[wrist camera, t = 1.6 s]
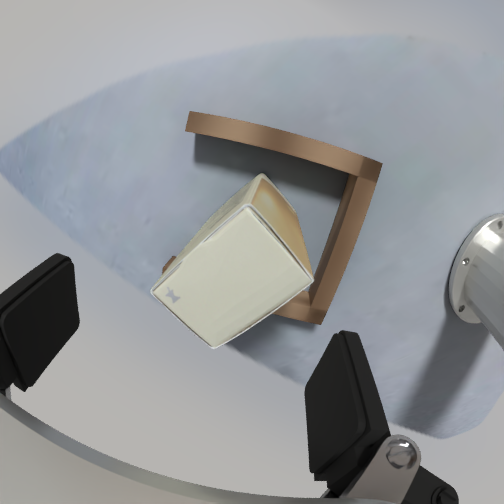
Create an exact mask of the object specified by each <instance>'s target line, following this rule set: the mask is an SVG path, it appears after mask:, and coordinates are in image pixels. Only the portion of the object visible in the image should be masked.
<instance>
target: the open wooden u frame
mask: <svg viewBox="0 0 504 504" xmlns="http://www.w3.org/2000/svg"><path fill="white" fill-rule="evenodd" d="M185 131H187V132H193V133H198V134H203V135H209V136H214V137H219V138H223V139H228V140H233V141H237V142H241V143H246V144H250V145H254V146H258V147H262V148H266V149H270V150H274V151H278V152H282V153H285V154H289V155H292V156H296V157H299V158H303V159H306V160H310V161H313V162H316V163H320V164H323V165H326V166H329V167H332V168H335V169H338V170H341V171H344V172H347V173H349V176H348V180H347V183H346V186H345V189H344V192H343V196H342V199H341V202H340V205H339V208H338V211H337V214H336V217H335V220H334V223H333V226H332V229H331V231H330V234H329V237H328V240H327V243H326V246H325V248H324V251H323V254H322V257H321V260H320V262H319V265H318V268H317V270H316V273H315V276H314V282H313V283H312V284H311V286H310V289H309V291H308V292H307V291H301V292H300V293H299V294H298V295H296V296H295V297H294V298H292V299H291V300H290V301H288V302H287V303H286V304H284V305H283V306H282V307H280V308H279V309H277V310H276V311H275V312H273V313H272V314H276V315H280V316H284V317H288V318H292V319H297V320H301V321H305V322H310V323H314V324H319V325H321V324H322V322H323V319H324V317H325V315H326V313H327V311H328V308H329V306H330V304H331V302H332V299H333V297H334V295H335V293H336V290H337V288H338V286H339V283H340V281H341V278H342V276H343V274H344V271H345V269H346V266H347V264H348V261H349V259H350V256H351V254H352V251H353V249H354V246H355V243H356V241H357V238H358V235H359V233H360V230H361V227H362V224H363V222H364V219H365V216H366V213H367V210H368V207H369V205H370V202H371V199H372V196H373V193H374V190H375V186H376V183H377V180H378V177H379V174H380V171H381V167H382V164H383V163H380V162H378V161H375V160H372V159H370V158H367V157H364V156H362V155H359V154H356V153H353V152H351V151H348V150H345V149H342V148H339V147H336V146H333V145H330V144H327V143H324V142H320V141H317V140H314V139H311V138H307V137H304V136H300V135H297V134H293V133H290V132H286V131H282V130H279V129H275V128H271V127H267V126H263V125H258V124H254V123H250V122H245V121H241V120H236V119H231V118H226V117H221V116H216V115H210V114H204V113H199V112H192V111H190V112H189V116H188V121H187V125H186V129H185ZM175 258H176V257H175V256H172V258H171V259H170V260H169V261H168V262H167V264H166V265H165V266H164V267H163V272H162V275H163V273H164V272H165V271H166V270H167V268H168V267H169V266H170V265H171V263H172V262H173V261H174V260H175Z"/></svg>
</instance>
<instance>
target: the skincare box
mask: <svg viewBox="0 0 504 504" xmlns="http://www.w3.org/2000/svg"><path fill="white" fill-rule="evenodd" d="M313 282H314V278H313V273H312V270H311V266H310V262H309V258H308V254H307V250H306V247H305V243H304V239H303V235H302V231H301V228H300V225H299V221H298V217H297V214H296V211H295V210H294V208H293V207H292V206H291V205H290V203H289V202H288V201H287V200H286V198H285V197H284V196H283V195H282V193H281V192H280V191H279V190H278V189H277V187H276V186H275V185H274V184H273V183H272V182H271V181H270V180H269V178H268V177H267V176H266V175H265V174H263V173H260V174H259V175H257V176H256V177H255V178H254V179H252V180H251V181H250V182H249V183H248V184H246V185H245V186H244V187H243V188H242V189H241V190H239V191H238V192H237V193H236V194H235V195H234V196H233V197H231V198H230V199H229V200H228V201H227V202H226V203H225V204H224V205H223V206H222V207H221V208H220V209H219V210H217V211H216V212H215V213H214V214H213V215H212V216H211V217H210V218H209V219H208V220H207V222H206V223H205V224H204V225H203V226H202V228H201V229H200V230H199V231H198V232H197V234H196V235H195V236H194V237H193V238H192V239H191V241H190V242H189V243H188V244H187V245H186V247H185V248H184V249H183V250H182V251H181V253H180V254H179V255H178V256H177V257H176V258H175V260H174V261H173V262H172V263H171V265H170V266H169V267H168V268H167V270H166V271H165V272H164V273H163V275H162V276H161V277H160V278H159V280H158V281H157V282H156V284H155V285H154V286H153V287H152V288H151V290H150V292H151V294H152V295H153V296H154V297H155V298H156V299H157V300H158V301H159V302H161V304H162V305H163V306H164V307H165V308H166V309H167V310H168V311H169V312H170V313H171V314H172V315H174V316H175V317H176V318H177V319H178V320H179V321H180V322H181V323H182V324H183V325H184V326H185V327H187V328H188V329H189V330H190V331H191V332H192V333H193V334H194V335H196V336H197V337H198V338H199V339H200V340H202V341H203V342H204V343H206V344H207V345H208V346H209V347H210V348H212V349H216V348H218V347H220V346H222V345H224V344H225V343H227V342H229V341H231V340H232V339H234V338H236V337H237V336H239V335H240V334H242V333H244V332H245V331H247V330H248V329H250V328H251V327H253V326H254V325H256V324H257V323H259V322H260V321H262V320H263V319H265V318H266V317H267V316H269V315H270V314H272V313H273V312H275V311H276V310H277V309H279V308H280V307H282V306H283V305H284V304H286V303H287V302H288V301H290V300H291V299H292V298H294V297H295V296H296V295H298V294H299V293H300V292H301V291H303V290H304V289H305V288H307V287H308V286H309V285H311V284H312V283H313Z"/></svg>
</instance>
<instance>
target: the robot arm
mask: <svg viewBox="0 0 504 504" xmlns="http://www.w3.org/2000/svg"><path fill="white" fill-rule="evenodd" d="M449 299H450V303H451V306H452V308H453V310H454V311H455V313H456V314H457V315H458V316H459V317H460V319H461V320H463V321H465V322H467V323H472V324H476V323H483V324H484V326H485V327H486V328H487V329H488V331H489V332H490V333H491V334H492V336H493V337H494V338H495V340H496V341H497V342H498V343H499V345H500V346H501V347H502V349H503V350H504V214H496V215H493V216H490V217H488V218H487V219H485V220H483V221H482V222H481V223H480V224H479V225H477V226H476V227H475V228H474V229H473V231H472V232H471V233H470V234H469V236H468V237H467V238H466V240H465V241H464V243H463V245H462V246H461V248H460V250H459V252H458V254H457V256H456V258H455V261H454V264H453V267H452V270H451V275H450V280H449ZM79 323H80V320H79V312H78V304H77V295H76V285H75V272H74V264H73V263H72V261H71V259H70V258H69V257H67V256H64V255H62V254H59V253H56V254H54V255H52V256H51V257H50V258H48V259H47V260H45V261H44V262H43V263H41V264H40V265H38V266H37V267H35V268H34V269H33V270H31V271H30V272H29V273H27V274H26V275H25V276H23V277H22V278H21V279H19V280H18V281H17V282H15V283H14V284H13V285H12V286H10V287H9V288H8V289H6V290H5V291H4V292H3V293H2V294H0V504H459V499H458V495H457V493H456V491H455V489H454V488H453V487H452V486H450V485H449V484H447V483H446V482H444V481H443V480H441V479H439V478H438V477H437V476H435V475H434V474H432V473H430V472H429V471H428V470H426V469H424V468H423V467H422V466H420V462H421V453H420V451H419V448H418V446H417V445H416V443H415V442H414V441H412V440H411V439H410V438H408V437H406V436H403V435H392V436H391V434H390V431H389V427H388V423H387V420H386V417H385V413H384V410H383V406H382V403H381V400H380V397H379V393H378V390H377V387H376V384H375V381H374V378H373V375H372V372H371V369H370V366H369V363H368V360H367V357H366V354H365V351H364V349H363V346H362V343H361V340H360V337H359V335H358V333H355V332H349V331H344V330H342V331H340V332H339V333H338V334H337V333H336V334H334V335H333V337H332V339H331V341H330V342H329V344H328V346H327V348H326V350H325V352H324V354H323V356H322V357H321V359H320V361H319V363H318V365H317V367H316V368H315V370H314V372H313V374H312V375H311V377H310V379H309V381H308V382H307V384H306V387H305V405H306V418H307V419H306V420H307V434H308V451H309V469H310V472H311V473H314V481H327V488H328V489H327V491H325V493H324V494H323V495H322V496H321V497H320V498H293V497H278V496H267V495H256V494H248V493H240V492H234V491H227V490H222V489H216V488H211V487H206V486H202V485H197V484H193V483H189V482H185V481H181V480H177V479H173V478H170V477H167V476H163V475H160V474H157V473H153V472H150V471H147V470H144V469H142V468H138V467H136V466H133V465H130V464H128V463H125V462H123V461H120V460H117V459H115V458H113V457H110V456H108V455H106V454H103V453H101V452H99V451H97V450H94V449H92V448H90V447H88V446H86V445H84V444H82V443H80V442H78V441H76V440H74V439H72V438H70V437H68V436H66V435H64V434H63V433H61V432H59V431H57V430H55V429H54V428H52V427H50V426H49V425H47V424H45V423H44V422H42V421H40V420H39V419H37V418H36V417H34V416H32V415H31V414H29V413H28V412H26V411H25V410H23V409H22V408H20V407H19V406H18V405H16V404H15V403H13V402H12V401H11V392H10V385H11V384H12V383H14V385H15V386H16V387H18V388H19V389H21V390H22V391H24V392H25V391H26V390H27V388H28V387H31V386H33V385H34V383H35V382H36V381H37V379H38V378H39V377H40V375H41V374H42V373H43V371H44V370H45V369H46V368H47V366H48V365H49V364H50V362H51V361H52V360H53V359H54V357H55V356H56V355H57V353H58V352H59V351H60V350H61V349H62V347H63V346H64V345H65V343H66V342H67V341H68V340H69V339H70V338H71V336H72V335H73V334H74V333H75V332H76V330H77V329H78V327H79Z"/></svg>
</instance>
